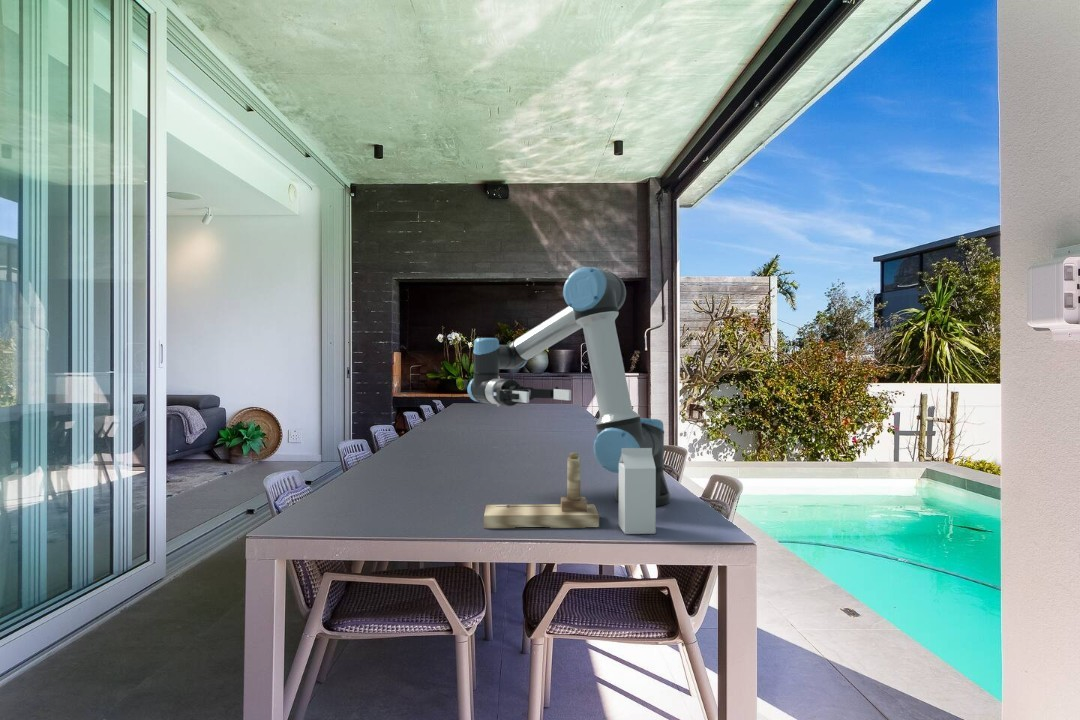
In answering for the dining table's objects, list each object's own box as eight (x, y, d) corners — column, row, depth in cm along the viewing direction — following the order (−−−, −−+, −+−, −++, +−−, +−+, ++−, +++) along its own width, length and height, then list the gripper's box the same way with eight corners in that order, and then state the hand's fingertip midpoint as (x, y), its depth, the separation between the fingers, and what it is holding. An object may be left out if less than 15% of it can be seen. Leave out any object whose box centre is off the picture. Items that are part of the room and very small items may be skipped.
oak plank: (593, 516, 149) (593, 503, 149) (598, 527, 139) (599, 514, 139) (486, 516, 148) (486, 504, 148) (483, 528, 138) (483, 515, 138)
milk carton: (655, 534, 134) (655, 450, 134) (624, 535, 133) (624, 450, 133) (647, 525, 141) (648, 445, 141) (618, 525, 140) (618, 446, 140)
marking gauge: (585, 507, 146) (585, 451, 145) (586, 511, 142) (587, 454, 141) (560, 507, 146) (561, 451, 145) (561, 511, 142) (562, 454, 141)
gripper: (539, 403, 176) (586, 408, 159) (465, 407, 161) (508, 413, 144) (539, 378, 176) (586, 380, 159) (465, 379, 161) (508, 382, 144)
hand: (549, 396), depth 151 cm, fingers open, 13 cm apart
